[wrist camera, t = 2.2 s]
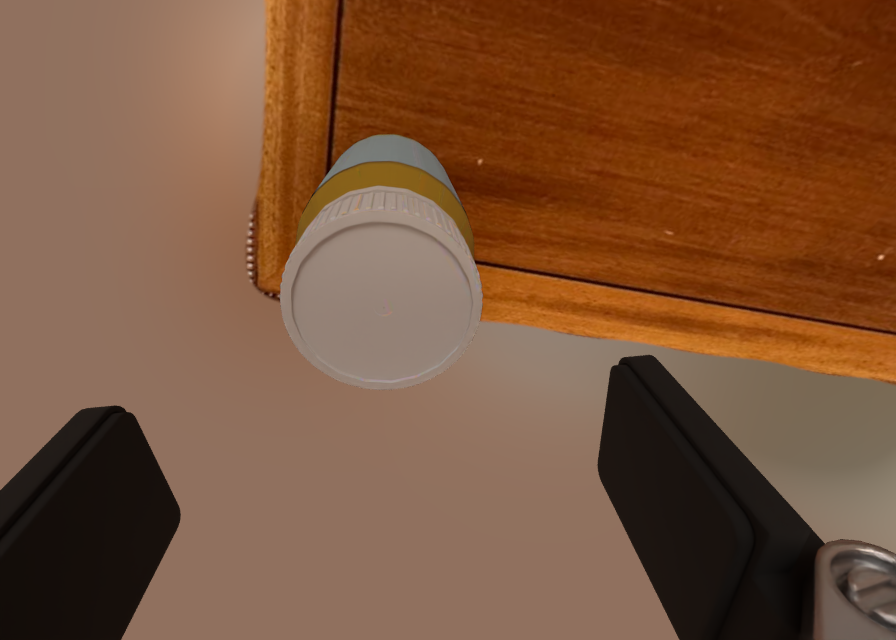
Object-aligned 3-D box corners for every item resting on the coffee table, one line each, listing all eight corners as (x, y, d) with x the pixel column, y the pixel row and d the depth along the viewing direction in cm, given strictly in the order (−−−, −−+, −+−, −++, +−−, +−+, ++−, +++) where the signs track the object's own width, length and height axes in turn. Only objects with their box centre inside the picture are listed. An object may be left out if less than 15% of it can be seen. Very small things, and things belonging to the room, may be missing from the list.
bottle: (431, 263, 29) (458, 415, 16) (321, 235, 28) (251, 380, 14) (464, 153, 26) (530, 231, 13) (342, 116, 25) (279, 160, 11)
